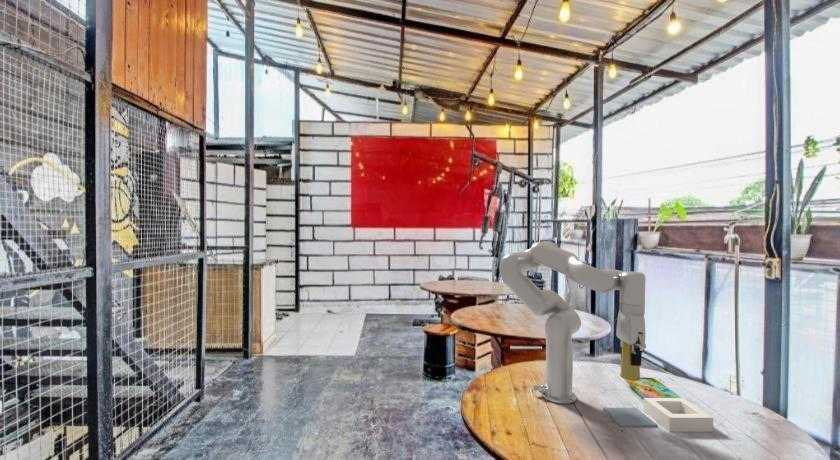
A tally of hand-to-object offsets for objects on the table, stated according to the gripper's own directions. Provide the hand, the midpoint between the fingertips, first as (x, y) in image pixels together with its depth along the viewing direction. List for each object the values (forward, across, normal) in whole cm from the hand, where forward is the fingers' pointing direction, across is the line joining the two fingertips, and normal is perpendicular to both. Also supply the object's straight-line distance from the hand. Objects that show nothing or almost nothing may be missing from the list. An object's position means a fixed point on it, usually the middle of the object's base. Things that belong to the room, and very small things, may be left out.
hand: (630, 361), depth 134 cm
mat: (+19, 0, 0) cm, 19 cm away
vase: (+6, 0, 0) cm, 6 cm away
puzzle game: (+20, -16, +18) cm, 31 cm away
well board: (+19, +2, +15) cm, 24 cm away
